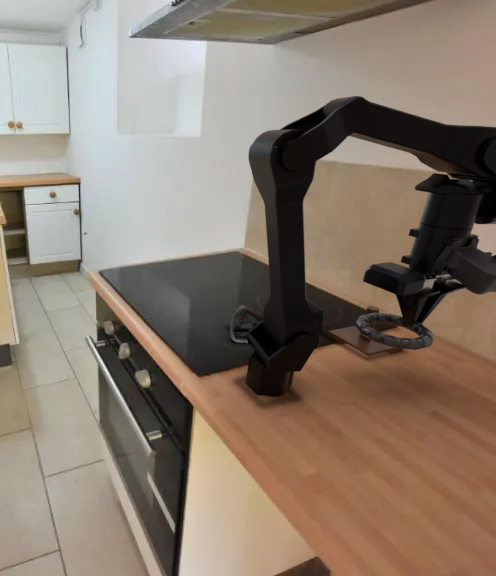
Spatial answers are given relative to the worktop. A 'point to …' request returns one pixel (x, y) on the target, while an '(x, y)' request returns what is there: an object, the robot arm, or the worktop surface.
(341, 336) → the post
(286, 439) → the worktop surface
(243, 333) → the grey curved frame
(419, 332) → the ring
